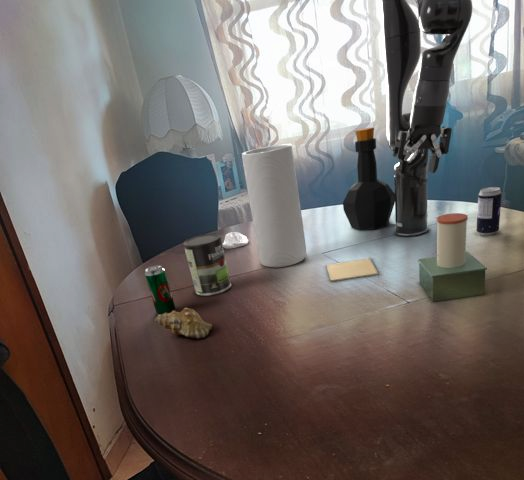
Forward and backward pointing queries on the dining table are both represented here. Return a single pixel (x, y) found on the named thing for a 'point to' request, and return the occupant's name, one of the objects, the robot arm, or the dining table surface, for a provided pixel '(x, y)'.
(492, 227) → the beverage can
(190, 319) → the seashell
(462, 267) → the tin
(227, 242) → the white lumpy mound
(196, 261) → the coffee can
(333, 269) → the mat
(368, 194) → the bottle
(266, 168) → the vase
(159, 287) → the soda can
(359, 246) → the dining table surface
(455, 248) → the canister
